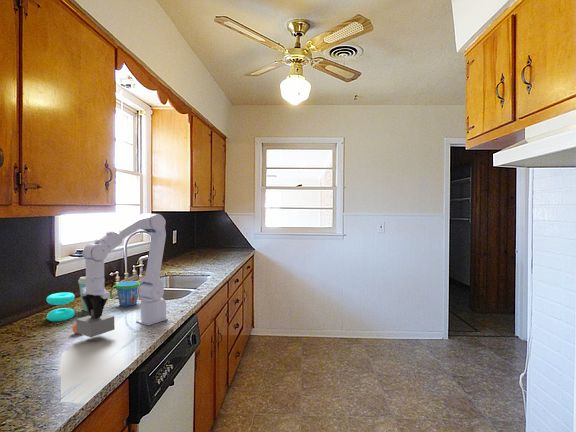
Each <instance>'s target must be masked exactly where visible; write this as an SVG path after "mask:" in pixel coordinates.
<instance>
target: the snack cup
mask: <svg viewBox="0 0 576 432" xmlns="http://www.w3.org/2000/svg"><path fill="white" fill-rule="evenodd" d="M140 282H141V281H137V280H129V281H121V282H118V283H116V284H114V285H113V286H112V287H111V289H110V298H109V299H113V297H114V296H113V292H112V291H113V290H114V288H115V290H116V292H117V293H116V294H117V299H118V303H119V306H121V307H129V306H135V305H136V304H137V302H138V294H137V288H138V286H139V285H140Z"/></svg>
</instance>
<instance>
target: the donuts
mask: <svg viewBox="0 0 576 432" xmlns="http://www.w3.org/2000/svg"><path fill="white" fill-rule="evenodd" d="M75 297H76V296H75V294H74V293H73V292H56V293H51V294H50V295H47V297H46V302H47V303H48V305H49V304H50V305H52V306H53V305H55V306H58V305H59V306H62V305H67V304H69V303H71V302H73V301H74V300H75ZM75 315H76V312H75V310H74V309H73V308H70V307H60V308H56V309H53V310H51V311H49V312H48V313H47V315H46V319H47V320H48V321H50V322H62V321H67V320H70V319H72V318H73V317H74V316H75Z"/></svg>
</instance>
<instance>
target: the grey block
mask: <svg viewBox="0 0 576 432" xmlns="http://www.w3.org/2000/svg"><path fill="white" fill-rule="evenodd" d="M75 321H76V322H75V323H76V324H77V333H78V334H80V335H82V336H85V337H89V338H94V337H96V336H99V335H102V334H105V333H108V332H112V331H115V329H116V328H115V316H114V315H111V314H107V313H104V312H102V316H100V317H97V318H95V316H94V310H93V309H91V316H89V315H86V316H83V317H80V318H77V319H76V320H75ZM77 333H76V334H77Z"/></svg>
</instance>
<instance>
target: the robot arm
mask: <svg viewBox="0 0 576 432" xmlns="http://www.w3.org/2000/svg"><path fill="white" fill-rule="evenodd" d="M166 224H167V223H166V219H165V218H164V216H163V215H161V214H159V213H141V214H139V215H137V216H135V218H134V219H133V220H131V221H130V222H128V223H127V224H126V225H124V226H123V227H122V228H120V229H119V230H117V231H113V230H112V231H107V232H106V233H105V235H104V236H102V237H101V238H98V239H96V240H95V241H94V243H87V244H86V245H85V247H84V248H83V250H82V252H81V256H82V257H83V259H84V260H85V277H86V287H84V288H81V293H83V294H85V295H86V294H87V295H86V296H83V297H82V299H83V300H84V302H85V304H86V306H87V309H88V311H87V312H88V316H91V309H93V310H94V316H95V318H97V317H100V316H102V313H104V308H105V305H106V303H107V301H108V300H109V299H111V298H110V292H109V291H107V289H106V288H105V281H104V279H105V260H106V258H107V257H108V255H109V253H110V252H112V251H113V250H114V249H116V248H117V247H119V246H120V245H122V244H123V242H124V241H123V240H124V239H126V238H127V237H129V236H131V235H132V234H134V233H136V232H137V231H139V230H143V231H145V232H146V233H147V234H148V235H149V236H150V244H149V251H148V257H147V263H146V269H145V275H144V276H143V277H142V278H141V279H140V281H139V282H140V285H139V286H138V288H137V294H138V296H139V300H140V319H137V320H135V322H136V323H139V324H143V325H145V326H151V325H154V324H157V323H160V322H163V321H166V320H168V317H167V302H166V300H165V298H163V296H164V294H165V289H164V281H163V279H162V278H161V276H160V275H161V268H162V265H163V264H162V263H163V256H164V252H165V251H164V249H165V244H166V239H167V238H166V237H167V233H166Z"/></svg>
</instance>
